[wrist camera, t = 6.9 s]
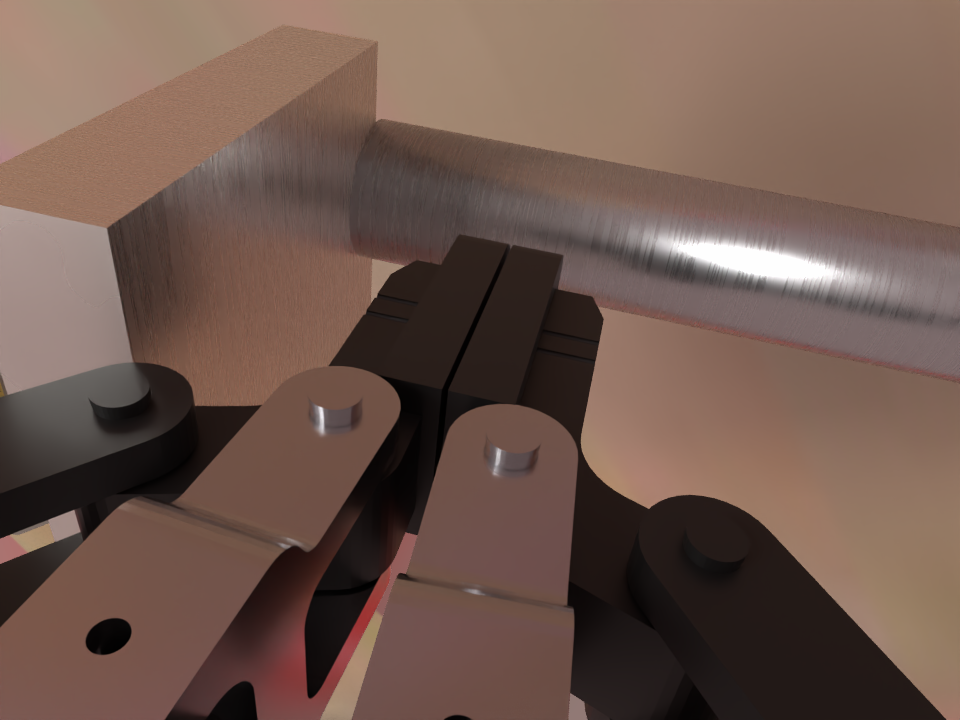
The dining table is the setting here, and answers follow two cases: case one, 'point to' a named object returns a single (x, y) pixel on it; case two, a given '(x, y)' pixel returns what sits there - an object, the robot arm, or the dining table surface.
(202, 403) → the shaft
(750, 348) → the dining table surface
